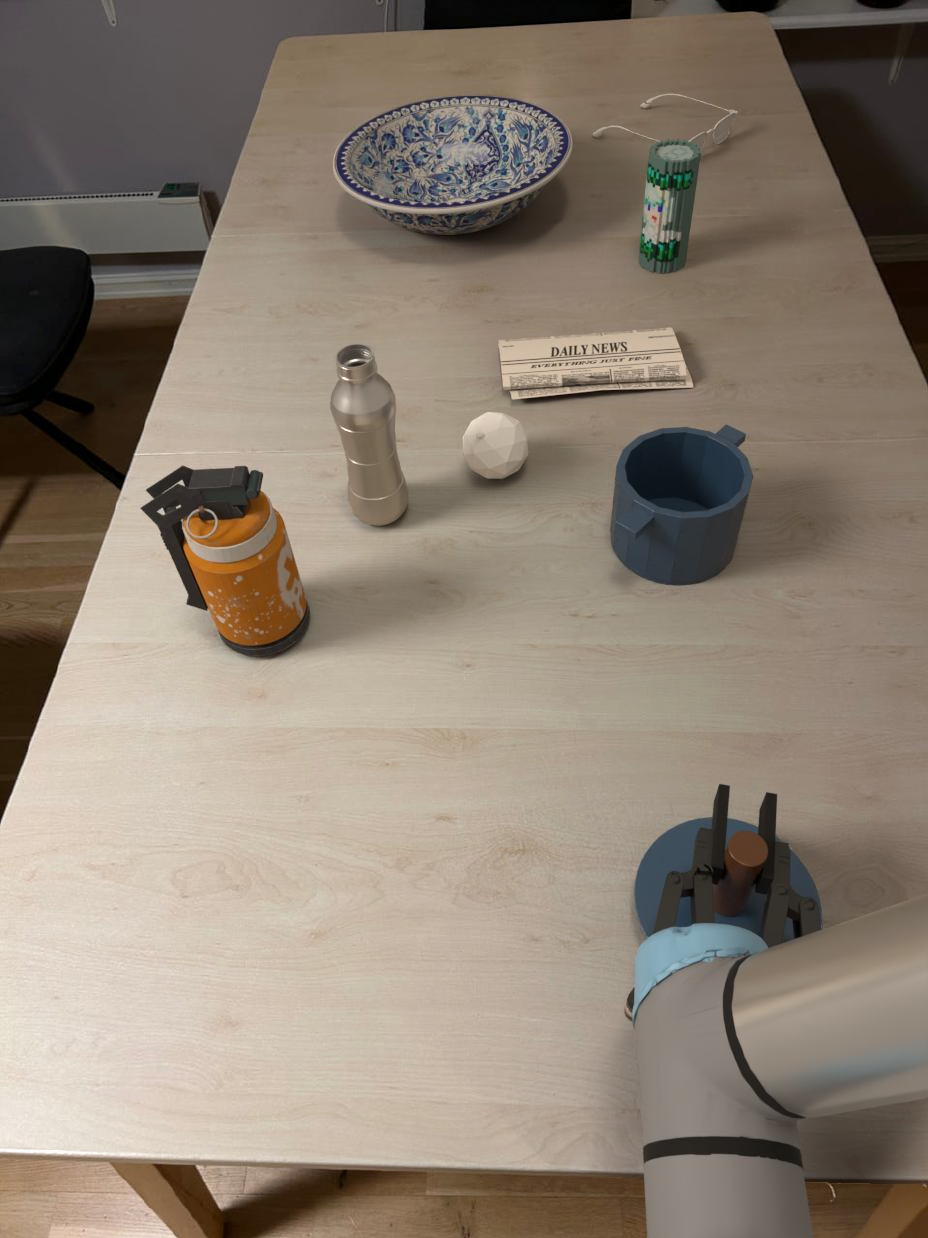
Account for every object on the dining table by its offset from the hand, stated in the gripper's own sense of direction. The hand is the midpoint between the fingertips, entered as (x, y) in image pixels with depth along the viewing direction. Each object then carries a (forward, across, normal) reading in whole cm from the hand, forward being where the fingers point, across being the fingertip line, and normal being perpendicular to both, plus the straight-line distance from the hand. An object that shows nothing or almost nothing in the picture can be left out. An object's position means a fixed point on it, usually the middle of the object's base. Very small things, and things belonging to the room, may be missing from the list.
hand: (744, 798), depth 68 cm
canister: (+14, -46, -9) cm, 49 cm away
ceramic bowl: (+95, -46, -9) cm, 106 cm away
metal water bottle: (+32, -39, -9) cm, 51 cm away
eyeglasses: (+123, -18, -9) cm, 125 cm away
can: (+86, -14, -9) cm, 87 cm away
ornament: (+41, -28, -9) cm, 50 cm away
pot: (+34, -8, -9) cm, 35 cm away
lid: (-5, 0, -6) cm, 8 cm away
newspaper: (+60, -20, -9) cm, 64 cm away
